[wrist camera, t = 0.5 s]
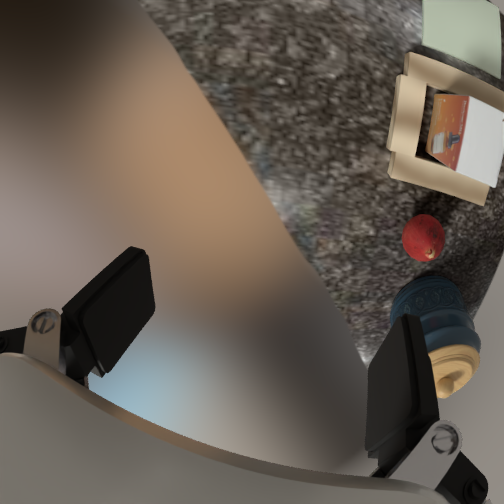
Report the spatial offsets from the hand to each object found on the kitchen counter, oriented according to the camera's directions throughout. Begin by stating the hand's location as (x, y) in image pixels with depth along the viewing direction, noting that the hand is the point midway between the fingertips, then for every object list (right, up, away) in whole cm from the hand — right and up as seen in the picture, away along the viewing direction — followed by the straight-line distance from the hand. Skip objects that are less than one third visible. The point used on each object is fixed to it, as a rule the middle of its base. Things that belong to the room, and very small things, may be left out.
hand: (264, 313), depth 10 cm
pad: (+26, +31, +8) cm, 41 cm away
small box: (+24, +18, +17) cm, 34 cm away
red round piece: (+22, +6, +24) cm, 33 cm away
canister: (+28, -7, +30) cm, 41 cm away
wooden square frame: (+24, +17, +17) cm, 34 cm away
